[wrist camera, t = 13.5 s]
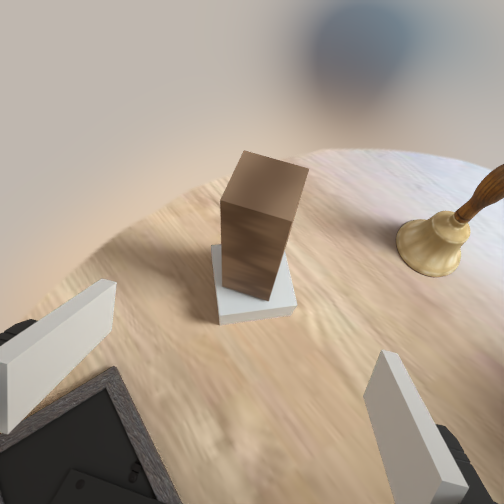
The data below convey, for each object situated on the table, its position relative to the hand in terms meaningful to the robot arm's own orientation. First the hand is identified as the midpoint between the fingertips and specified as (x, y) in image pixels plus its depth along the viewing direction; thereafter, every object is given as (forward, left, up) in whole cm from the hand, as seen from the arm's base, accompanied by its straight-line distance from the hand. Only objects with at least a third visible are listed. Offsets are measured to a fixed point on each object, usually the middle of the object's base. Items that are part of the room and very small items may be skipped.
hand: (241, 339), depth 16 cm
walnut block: (+1, -11, -16) cm, 19 cm away
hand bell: (-20, -22, -20) cm, 36 cm away
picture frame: (+10, +12, -21) cm, 26 cm away
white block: (0, -11, -20) cm, 23 cm away
